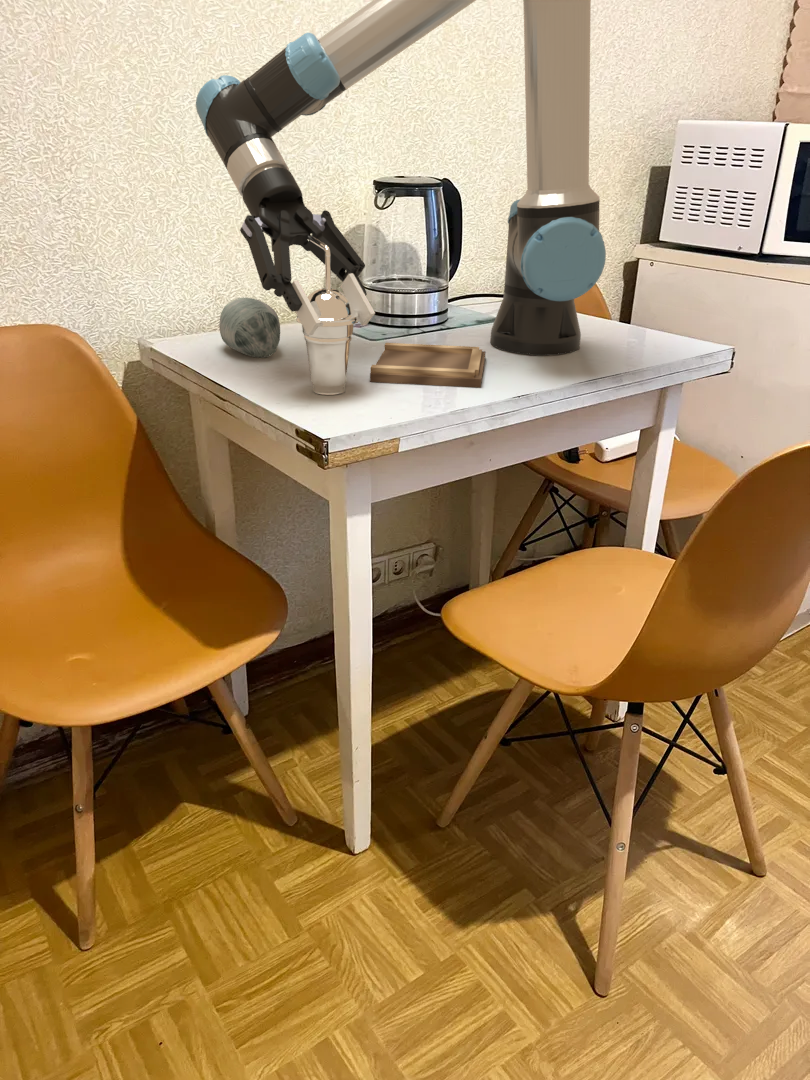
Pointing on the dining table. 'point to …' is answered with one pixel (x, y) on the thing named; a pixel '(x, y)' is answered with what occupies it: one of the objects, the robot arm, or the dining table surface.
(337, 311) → the cup with straw
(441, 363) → the brown flat square tray
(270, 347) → the spool
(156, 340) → the dining table surface
